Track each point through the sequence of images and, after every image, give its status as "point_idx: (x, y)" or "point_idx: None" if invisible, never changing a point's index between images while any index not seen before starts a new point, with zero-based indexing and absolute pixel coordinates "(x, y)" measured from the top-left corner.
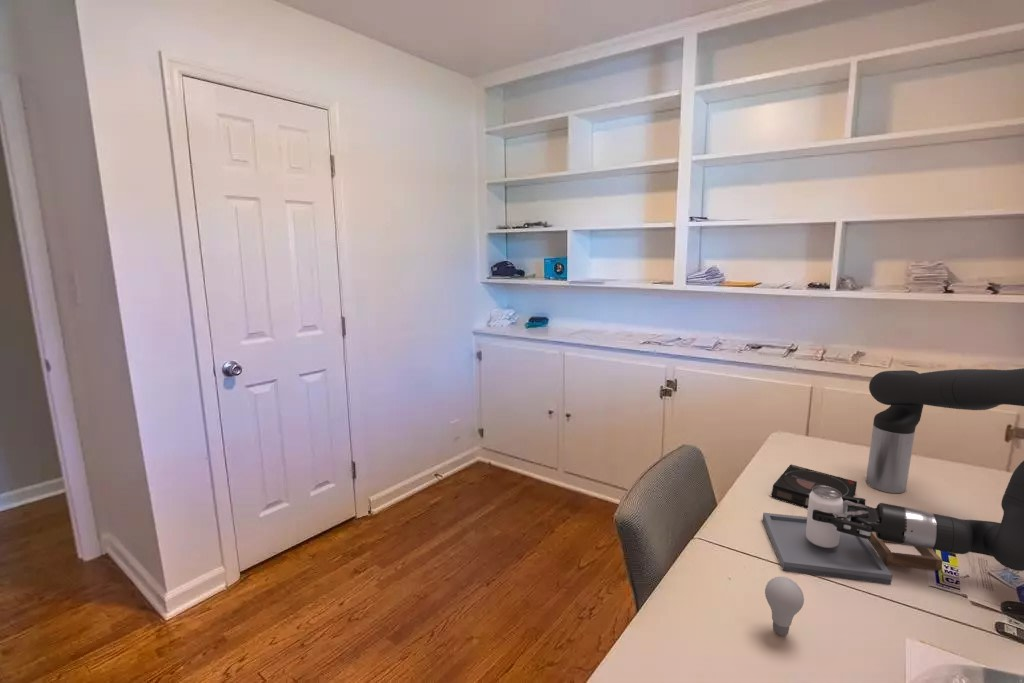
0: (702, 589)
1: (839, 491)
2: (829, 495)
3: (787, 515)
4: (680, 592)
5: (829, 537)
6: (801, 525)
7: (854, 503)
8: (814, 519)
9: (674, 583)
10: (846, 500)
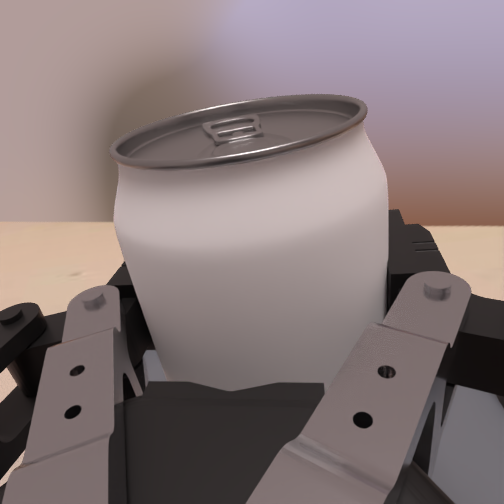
0: (42, 251)
1: (283, 144)
2: (191, 146)
3: None
4: (39, 235)
5: None
6: (458, 392)
7: (391, 424)
8: None
9: (65, 226)
10: (427, 342)
